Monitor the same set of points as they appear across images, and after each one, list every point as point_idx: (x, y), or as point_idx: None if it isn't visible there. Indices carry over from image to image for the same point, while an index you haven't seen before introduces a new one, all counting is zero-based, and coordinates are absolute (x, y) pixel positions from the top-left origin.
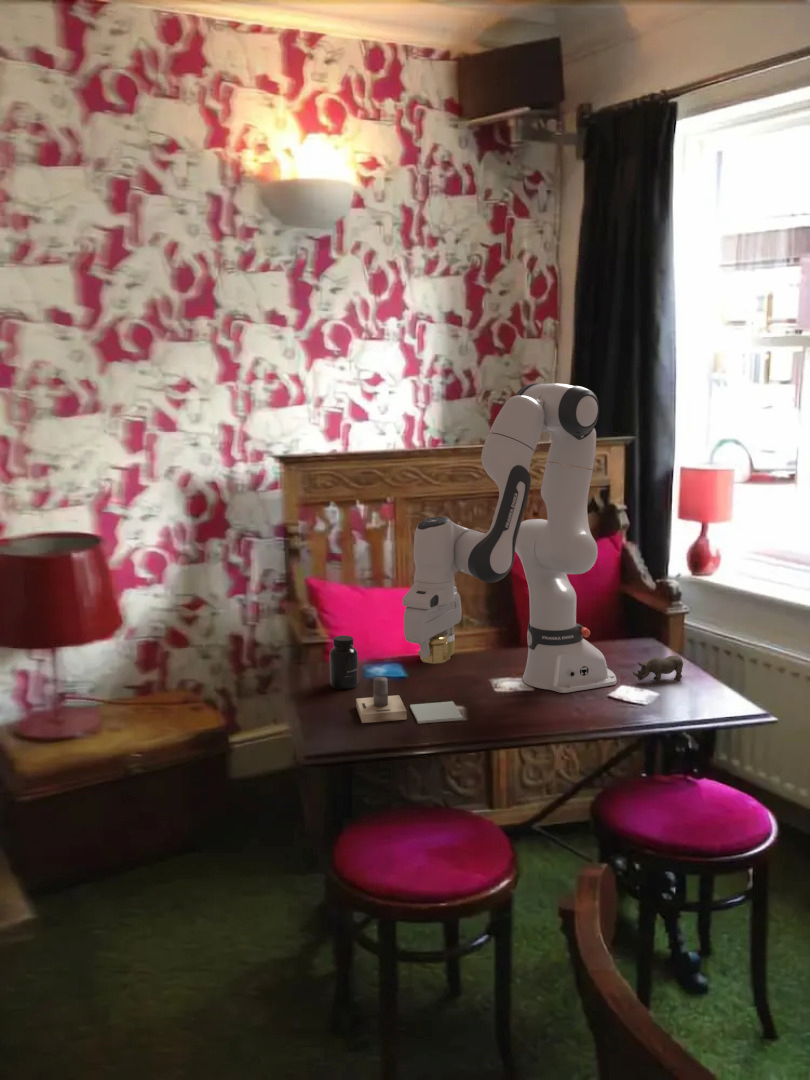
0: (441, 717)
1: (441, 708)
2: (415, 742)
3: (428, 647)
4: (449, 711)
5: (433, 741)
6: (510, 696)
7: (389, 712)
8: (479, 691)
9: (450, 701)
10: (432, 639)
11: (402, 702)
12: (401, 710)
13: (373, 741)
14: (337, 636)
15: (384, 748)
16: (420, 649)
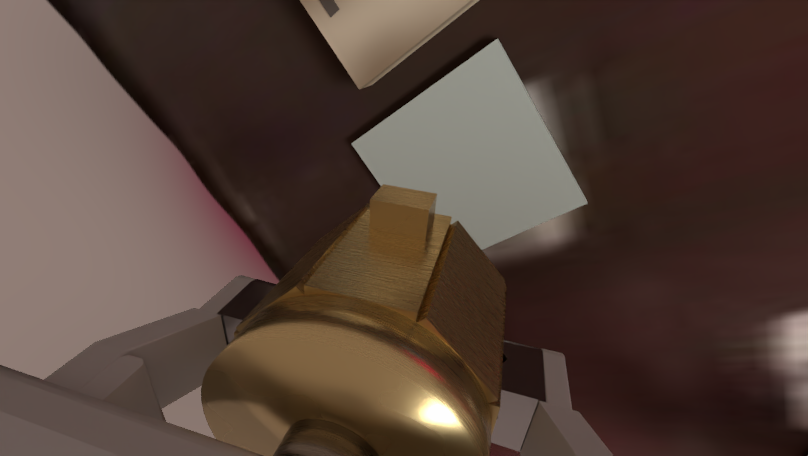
0: None
1: (495, 183)
2: (237, 183)
3: (189, 381)
4: (474, 218)
5: (268, 225)
6: (712, 367)
7: (315, 23)
8: (774, 263)
9: (582, 195)
10: (245, 443)
11: (439, 24)
12: (352, 66)
13: (172, 58)
14: None
15: (161, 115)
16: (334, 242)
